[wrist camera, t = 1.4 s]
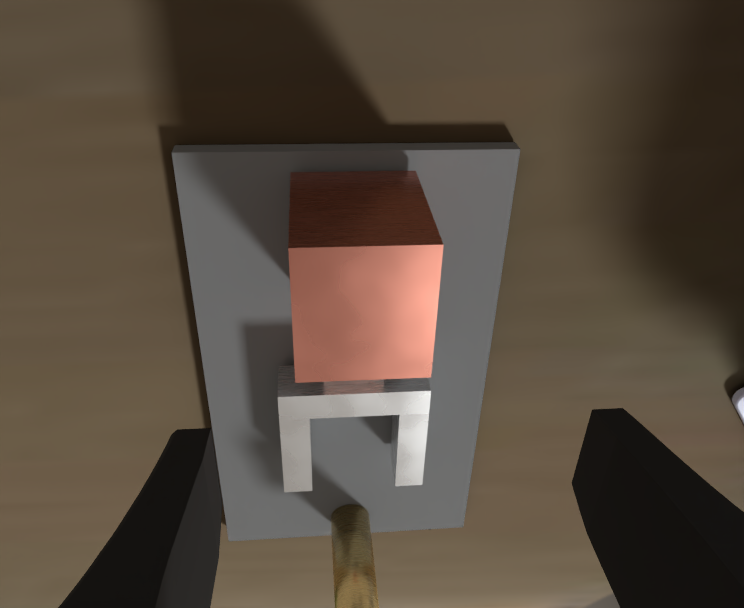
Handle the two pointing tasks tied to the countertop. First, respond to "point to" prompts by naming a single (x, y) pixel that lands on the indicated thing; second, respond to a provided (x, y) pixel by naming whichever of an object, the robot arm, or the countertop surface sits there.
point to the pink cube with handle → (360, 313)
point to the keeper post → (353, 558)
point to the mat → (275, 335)
